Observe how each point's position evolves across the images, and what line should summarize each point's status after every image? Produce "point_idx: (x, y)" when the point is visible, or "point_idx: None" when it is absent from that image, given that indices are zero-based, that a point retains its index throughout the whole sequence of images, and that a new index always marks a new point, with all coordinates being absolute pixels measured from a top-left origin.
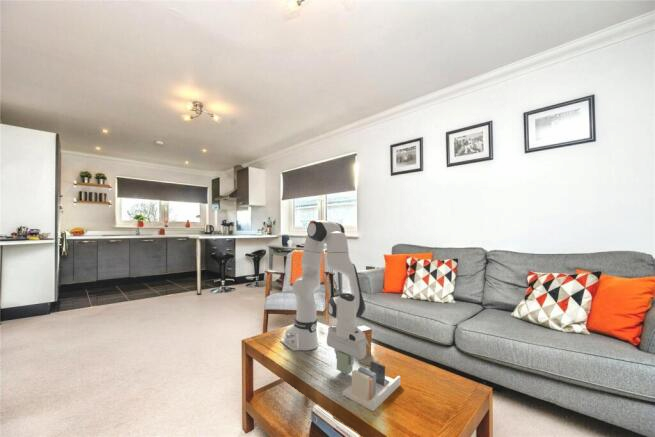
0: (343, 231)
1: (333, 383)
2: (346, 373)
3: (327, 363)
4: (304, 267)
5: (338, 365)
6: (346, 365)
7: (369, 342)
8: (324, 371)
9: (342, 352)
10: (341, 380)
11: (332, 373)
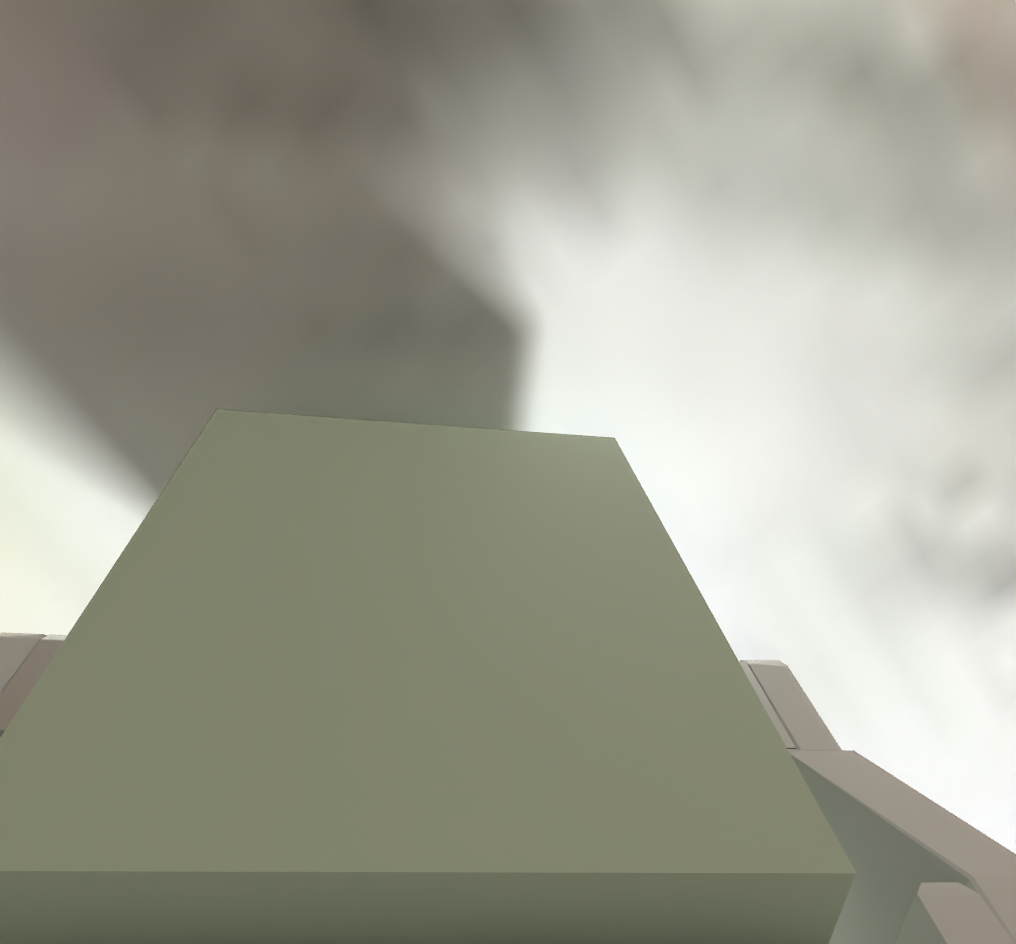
0: None
1: None
2: (237, 420)
3: (972, 593)
4: None
5: (570, 490)
6: (187, 533)
7: None
8: (893, 265)
9: None
10: (284, 194)
11: (668, 323)
